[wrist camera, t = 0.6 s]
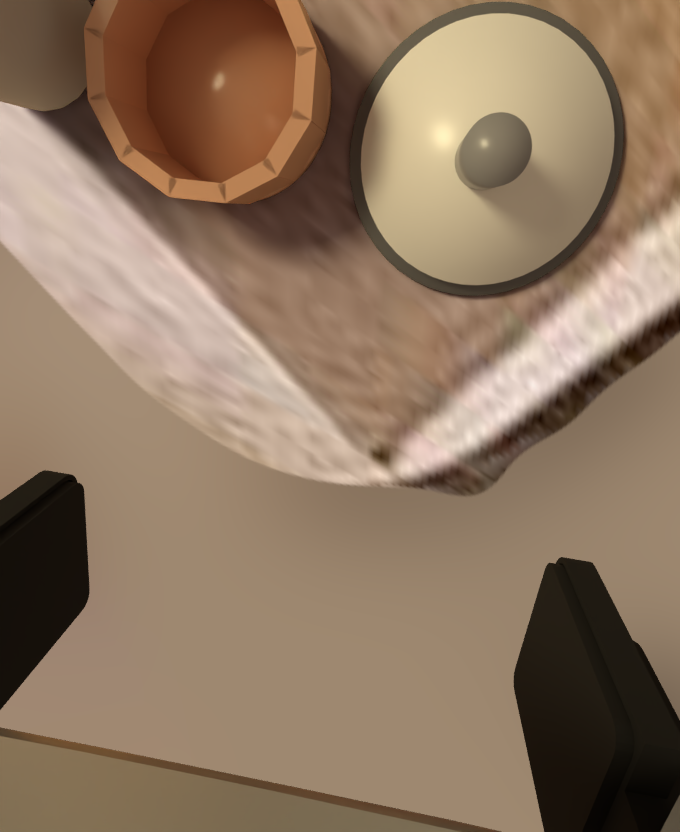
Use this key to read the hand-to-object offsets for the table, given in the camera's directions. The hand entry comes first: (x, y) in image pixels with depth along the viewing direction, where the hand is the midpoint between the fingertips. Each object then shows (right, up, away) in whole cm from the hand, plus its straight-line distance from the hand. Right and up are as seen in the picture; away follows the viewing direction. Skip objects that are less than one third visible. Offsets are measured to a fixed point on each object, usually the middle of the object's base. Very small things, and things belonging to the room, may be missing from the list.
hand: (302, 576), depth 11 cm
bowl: (-5, +21, +20) cm, 29 cm away
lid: (+8, +17, +19) cm, 27 cm away
